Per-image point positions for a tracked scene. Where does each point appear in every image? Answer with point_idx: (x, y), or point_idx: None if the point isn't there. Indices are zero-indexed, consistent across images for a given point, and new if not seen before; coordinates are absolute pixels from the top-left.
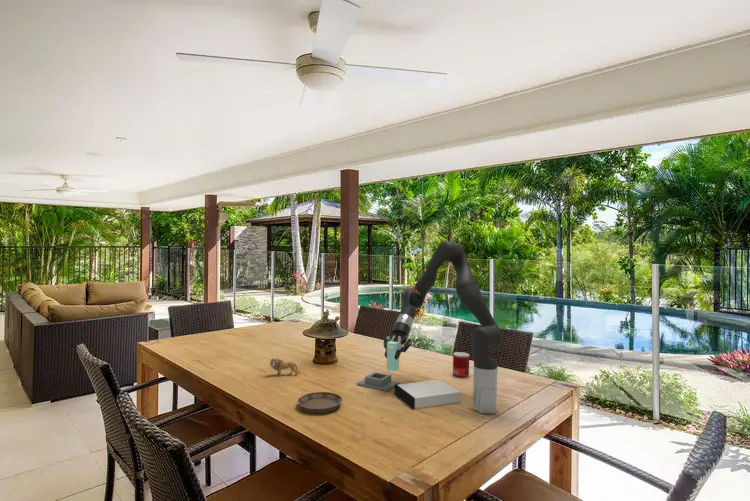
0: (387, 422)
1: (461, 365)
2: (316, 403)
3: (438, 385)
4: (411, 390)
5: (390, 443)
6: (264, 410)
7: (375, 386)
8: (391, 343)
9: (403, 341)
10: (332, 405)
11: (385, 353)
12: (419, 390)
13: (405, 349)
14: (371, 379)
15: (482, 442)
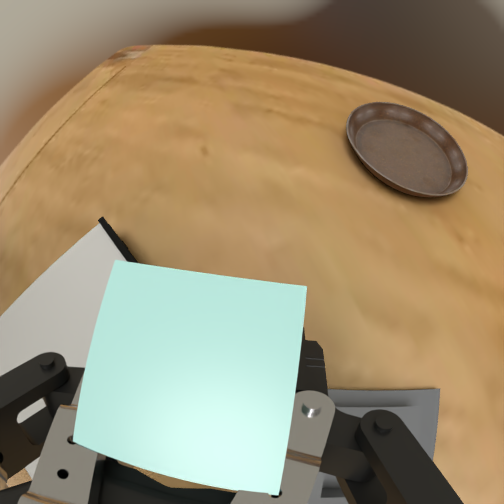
0: (182, 136)
1: None
2: (423, 162)
3: (27, 409)
4: None
5: (161, 85)
6: (464, 116)
7: (342, 394)
8: (191, 274)
9: (21, 489)
10: (378, 160)
11: (311, 352)
12: (84, 317)
13: (48, 416)
14: (382, 407)
15: (11, 159)
